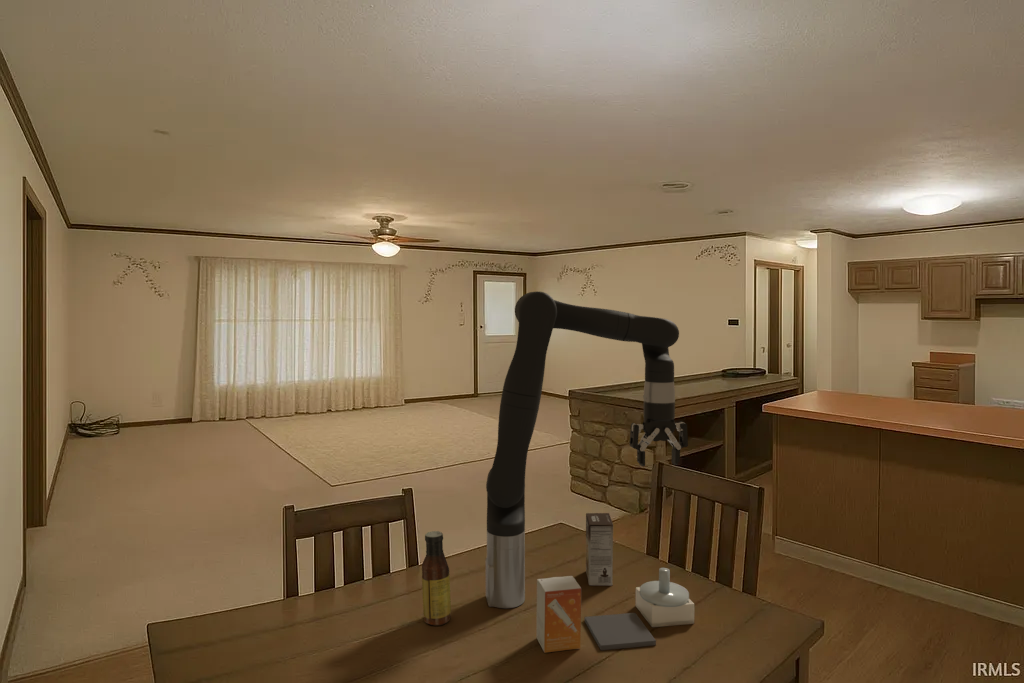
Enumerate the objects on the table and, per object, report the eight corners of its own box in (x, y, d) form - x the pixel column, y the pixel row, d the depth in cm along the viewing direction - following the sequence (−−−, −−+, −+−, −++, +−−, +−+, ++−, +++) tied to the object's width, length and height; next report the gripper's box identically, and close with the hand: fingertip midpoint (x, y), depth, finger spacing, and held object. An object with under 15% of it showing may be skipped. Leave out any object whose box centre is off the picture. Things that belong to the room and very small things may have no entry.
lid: (650, 608, 133) (651, 582, 132) (632, 586, 144) (632, 561, 143) (697, 604, 134) (697, 578, 134) (676, 583, 145) (676, 558, 145)
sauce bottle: (456, 616, 138) (455, 531, 137) (441, 629, 133) (441, 540, 132) (431, 610, 141) (431, 527, 140) (416, 623, 135) (416, 536, 134)
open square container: (651, 627, 134) (652, 607, 133) (635, 605, 143) (635, 587, 143) (694, 623, 135) (694, 603, 135) (675, 602, 145) (675, 584, 145)
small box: (544, 654, 123) (544, 591, 122) (535, 637, 129) (536, 578, 129) (581, 649, 125) (582, 587, 124) (571, 633, 131) (572, 574, 130)
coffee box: (585, 570, 163) (585, 512, 162) (608, 570, 163) (609, 512, 162) (588, 586, 154) (588, 524, 153) (613, 586, 154) (614, 524, 153)
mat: (600, 650, 124) (600, 645, 124) (584, 621, 136) (584, 616, 136) (655, 645, 126) (655, 640, 126) (635, 616, 138) (635, 612, 138)
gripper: (637, 402, 144) (636, 469, 144) (693, 401, 146) (692, 467, 147) (626, 398, 151) (625, 462, 152) (679, 397, 153) (679, 460, 154)
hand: (658, 464), depth 149 cm, fingers open, 8 cm apart
